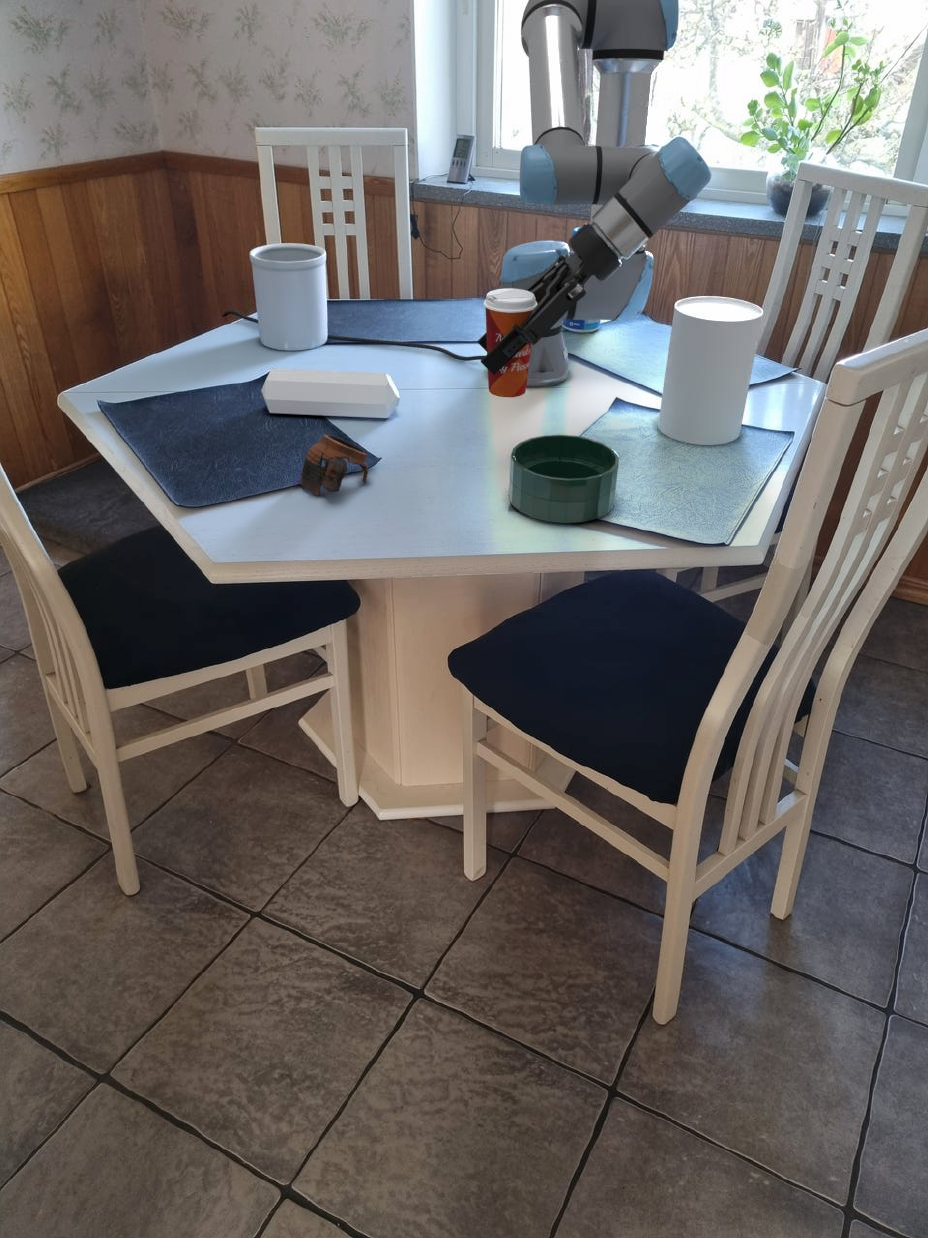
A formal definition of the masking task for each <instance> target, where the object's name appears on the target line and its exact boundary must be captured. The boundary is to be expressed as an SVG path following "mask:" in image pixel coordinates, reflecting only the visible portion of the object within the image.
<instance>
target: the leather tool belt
mask: <svg viewBox="0 0 928 1238" xmlns="http://www.w3.org/2000/svg"><path fill="white" fill-rule="evenodd" d="M368 457H369V453H368V452H367V451H365V450H364V449H363V448H361V447H359V446H357V445H355V444H353V443H351V442H349V441H347V440H344V439H342V438H339V437H338V436H334V435H331V434H326V433H323V434H322V435H321V439H320V441H318V442H316V443H315V444H312V446H311V447H310V448H309V449H308V451H307V452H306V456H305V458H304V460H303V465H302V466H303V467H302V469H301V472H300V475H301V476H300V483H299V484H300V486H301V487H302V489H305V490H306V491H307V492H309V493H312V494H313V495H315V496H320V495H321V489H322V488H323V490H325V491H326V492H327V493H337V492H339V491H340V488H341V487H342V483H343V479H344V478H345V476H346V473H347V471H348V463H351V464H354V465H358V466H360V468H361V469H362V470H363V475H362V482H363V483H366V482H367V478H368V475H369V467H368V463H367V460H366V459H368ZM346 460H347V461H346ZM323 461H324V465H322V463H323Z"/></svg>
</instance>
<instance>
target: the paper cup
mask: <svg viewBox="0 0 928 1238" xmlns="http://www.w3.org/2000/svg"><path fill="white" fill-rule="evenodd" d="M535 299H536V298H535V296H534V294H533V293H531V292H529V291H526V290H521V289H512V288H506V289H501V288H497V289H493V290H491V291H488V292H487V294H486V297H485V300H484V301H483V303H482V305H483V306H484V308H485V333H486V338H487V352H486V355H487V354H488V353H489V352H490V351H491V350H492V349H493V348H494V347H495V346H496V345H497V344H498V343H499V342H500V341H501V340H502V339H503V338H504V337H505V336H507V335H508V334H509V333H510V332H511V331H512V330H513V325H514V324H515V325H518V326H520V325H521V324H522V323H523V322H524V320H525V319H526V318H527V317H528V316H529V314H530V313H531V312H532V311H533V310H534V308H535V307H536V306H537V305H538V304H537V302H536V301H535ZM530 352H531V343H529V344H527V345H526V346H524V347H523V348H522V349H521V350H520V351H519V352H518V353H517V354H516V355H515V356H514V357H513V358H512V359H511V360H510V361H509V362H508V363H506V364H505V365H504V366H503V367H502V368H501V369H500V370H499V371H498V372H497V373H496V374H495V375H493V374H492V373H491V372H490V371H489V370H488V369H487V386H488V392H489V393H490V394H491V395H492V396H495V397H500V398H517V397H518V398H519V397H521V396H523V395H525V394H526V392H527V387H526V386H527V379H528V370H529V361H530Z"/></svg>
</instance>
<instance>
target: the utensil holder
mask: <svg viewBox="0 0 928 1238" xmlns="http://www.w3.org/2000/svg"><path fill="white" fill-rule="evenodd" d="M249 261H250V263H251V267H252V279H253V288H254V296H255V305H256V316H257V319H258V323H257V324H258V330H259V339H260V342H261V344H262V345H263V346H265V347H267V348H269V349H273V350H279V351H288V352H289V351H290V352H291V351H293V352H294V351H295V352H296V351H307V350H311V349H316V348H319V347H322V346H323V345H325V344H326V343H327V342H328V339H327V335H328V299H327V298H328V297H327V274H326V273H327V272H326V261H327V252H326V250H325V248H322V247H320V246H317V245H316V246H315V245H313V244H306V243H296V242H295V243H294V242H293V243H291V242H290V243H289V242H288V243H287V242H285V243H283V242H282V243H272V244H271V243H270V244H265V245H261V246H258V247H254V248H252V249H251V250H250V251H249Z"/></svg>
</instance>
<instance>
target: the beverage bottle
mask: <svg viewBox="0 0 928 1238" xmlns="http://www.w3.org/2000/svg"><path fill="white" fill-rule="evenodd" d="M581 227H582V226H579V227H575V228H574V229H573V230H572V232H571V233H572V234H571V237H572V236H573V235H574V234H575V233H576V232H577V231H578V230H579V229H580V228H581ZM571 252H574V251H573V250H572V251H571ZM600 327H601V320H563V325H562V328H563V329H565V330H566V331H569V332H573V333H582V334H583V333H592V332H596V331H598V330H599V329H600Z"/></svg>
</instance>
